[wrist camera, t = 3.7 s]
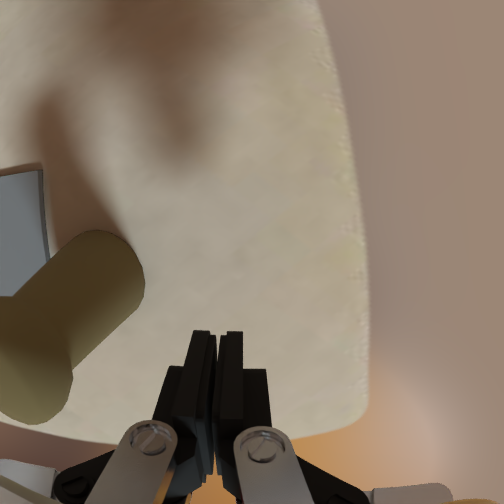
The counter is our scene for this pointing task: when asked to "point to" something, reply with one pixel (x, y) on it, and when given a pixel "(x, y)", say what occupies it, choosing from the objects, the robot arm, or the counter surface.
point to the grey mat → (21, 230)
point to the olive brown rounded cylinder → (63, 321)
